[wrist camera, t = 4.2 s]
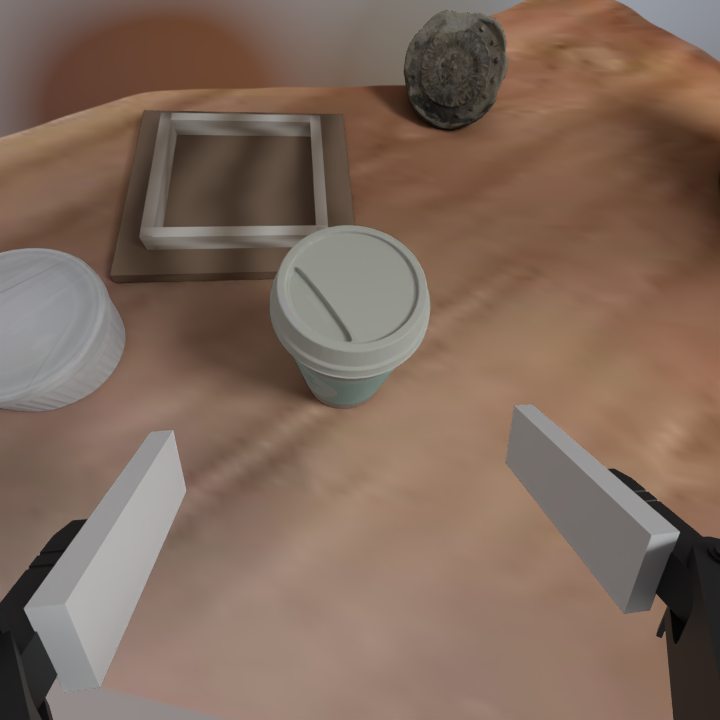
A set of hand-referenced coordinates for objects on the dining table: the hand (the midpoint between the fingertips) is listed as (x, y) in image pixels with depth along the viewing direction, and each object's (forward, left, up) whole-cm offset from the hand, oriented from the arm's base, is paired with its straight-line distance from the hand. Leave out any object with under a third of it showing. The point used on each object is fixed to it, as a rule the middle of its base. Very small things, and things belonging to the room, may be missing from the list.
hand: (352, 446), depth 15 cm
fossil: (-15, -41, -13) cm, 45 cm away
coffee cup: (-1, -8, -13) cm, 15 cm away
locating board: (+7, -27, -13) cm, 31 cm away
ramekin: (+20, -11, -13) cm, 26 cm away
